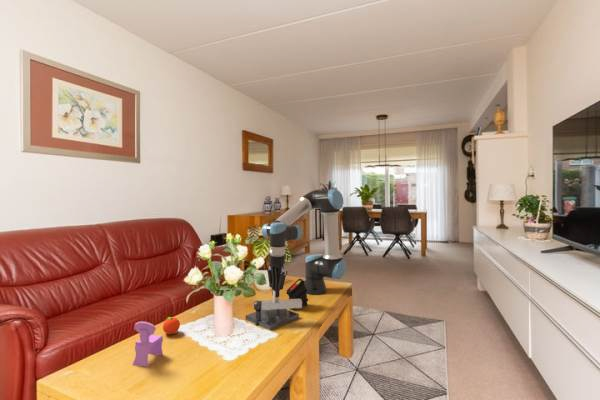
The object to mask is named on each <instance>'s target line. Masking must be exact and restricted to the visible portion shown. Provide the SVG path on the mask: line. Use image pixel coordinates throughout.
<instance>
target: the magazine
mask: <svg viewBox="0 0 600 400" xmlns="http://www.w3.org/2000/svg"><path fill="white" fill-rule="evenodd" d="M304 283H305V280H304V279H302V278H298V279H297V280H296V281H295V282H294V283H293V284H292V285H291V286H290V287H289V288H288V289H286V295H288V299H301V300H302V308H304V307H307V306H308V302H309V299H308V294H307V293H306V291H307V289H306V288H305V284H304ZM299 309H300V308H289V310H290V311H297V310H299Z"/></svg>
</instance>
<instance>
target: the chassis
mask: <svg viewBox="0 0 600 400" xmlns="http://www.w3.org/2000/svg"><path fill="white" fill-rule="evenodd" d="M299 318H300V314H299V313H298V312H295V311H293V310H290V309H269V310H255V311H254V312H251V313H248V314H245V320H246V321H248V322H250V323H253V324H255V326H260V327H261V328H264V329H266V330H268V331H272V330H275V329H277V328H279V327H281V326H284V325H286V324H289V323H291V322H292V321H296V320H297V319H299Z"/></svg>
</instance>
